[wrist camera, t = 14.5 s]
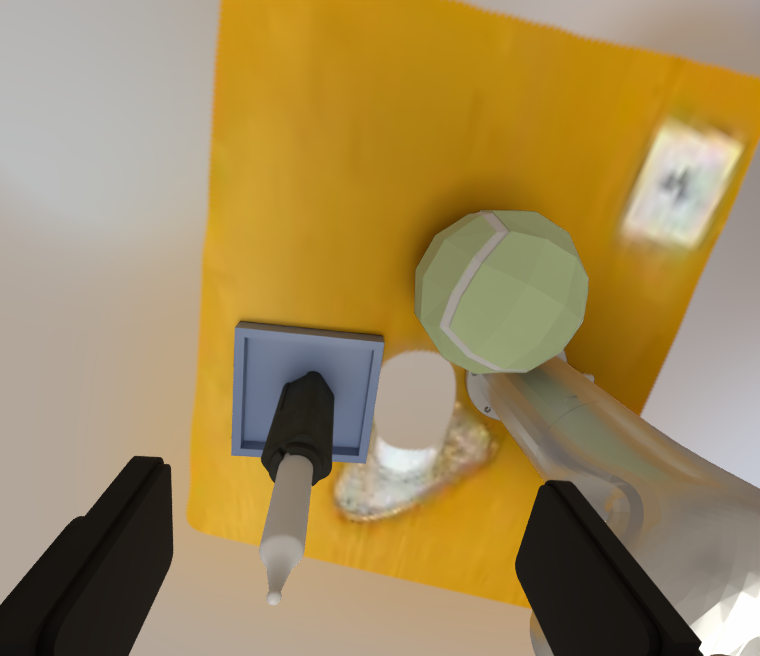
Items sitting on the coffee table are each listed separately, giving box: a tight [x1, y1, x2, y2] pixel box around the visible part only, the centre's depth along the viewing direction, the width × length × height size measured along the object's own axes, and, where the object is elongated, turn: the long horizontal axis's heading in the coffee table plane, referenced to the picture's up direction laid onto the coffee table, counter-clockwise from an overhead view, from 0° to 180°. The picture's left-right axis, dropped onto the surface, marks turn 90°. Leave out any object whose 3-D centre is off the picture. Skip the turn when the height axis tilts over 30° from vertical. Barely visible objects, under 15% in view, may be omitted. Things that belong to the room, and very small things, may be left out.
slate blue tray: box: [231, 321, 384, 463], centre depth 45 cm, size 16×16×2 cm
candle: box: [259, 371, 335, 605], centre depth 34 cm, size 5×5×25 cm
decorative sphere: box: [414, 210, 589, 374], centre depth 37 cm, size 15×15×15 cm
